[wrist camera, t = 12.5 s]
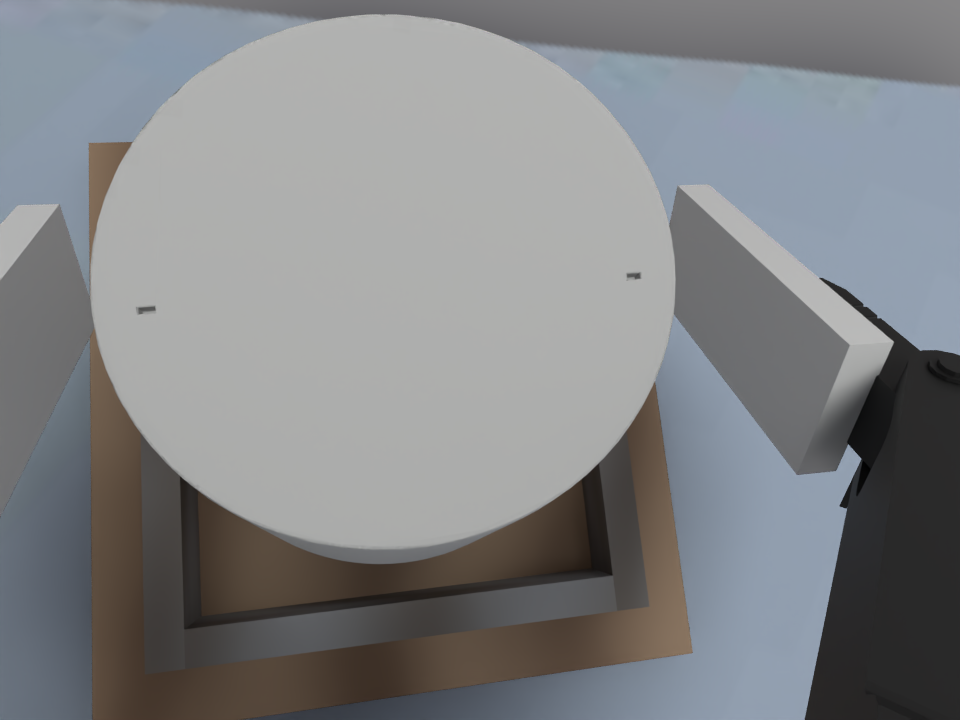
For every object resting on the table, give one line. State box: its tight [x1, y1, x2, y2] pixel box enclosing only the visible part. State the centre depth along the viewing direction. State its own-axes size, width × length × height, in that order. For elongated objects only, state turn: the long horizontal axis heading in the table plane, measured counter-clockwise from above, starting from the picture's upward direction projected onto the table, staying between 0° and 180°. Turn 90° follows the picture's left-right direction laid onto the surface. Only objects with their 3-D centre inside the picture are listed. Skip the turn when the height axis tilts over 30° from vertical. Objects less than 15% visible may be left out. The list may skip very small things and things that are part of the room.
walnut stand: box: [89, 142, 693, 720], centre depth 22 cm, size 18×18×3 cm
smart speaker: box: [90, 15, 676, 564], centre depth 16 cm, size 10×9×14 cm
